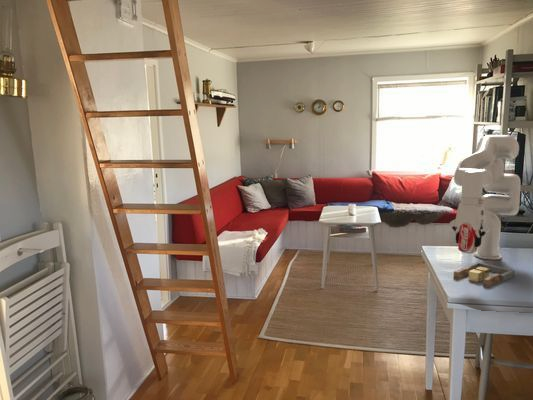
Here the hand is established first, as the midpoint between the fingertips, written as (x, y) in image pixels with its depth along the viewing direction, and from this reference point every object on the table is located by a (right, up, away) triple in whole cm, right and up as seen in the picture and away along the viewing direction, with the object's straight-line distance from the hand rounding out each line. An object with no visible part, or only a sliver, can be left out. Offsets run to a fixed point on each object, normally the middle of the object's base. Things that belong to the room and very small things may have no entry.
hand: (467, 244), depth 180 cm
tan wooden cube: (+7, -16, +8) cm, 20 cm away
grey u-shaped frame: (+17, -15, +17) cm, 28 cm away
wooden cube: (+12, -16, +12) cm, 23 cm away
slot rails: (+8, -16, +9) cm, 20 cm away
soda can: (0, -3, 0) cm, 3 cm away
